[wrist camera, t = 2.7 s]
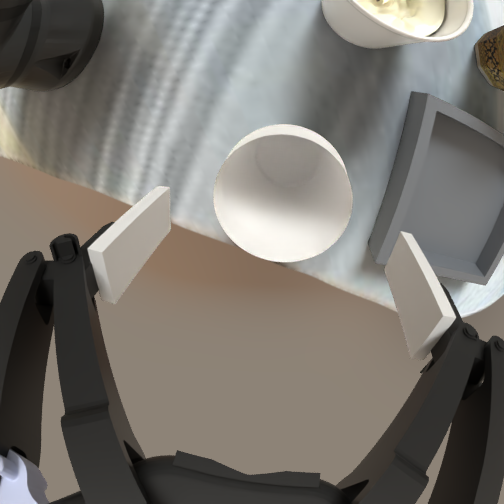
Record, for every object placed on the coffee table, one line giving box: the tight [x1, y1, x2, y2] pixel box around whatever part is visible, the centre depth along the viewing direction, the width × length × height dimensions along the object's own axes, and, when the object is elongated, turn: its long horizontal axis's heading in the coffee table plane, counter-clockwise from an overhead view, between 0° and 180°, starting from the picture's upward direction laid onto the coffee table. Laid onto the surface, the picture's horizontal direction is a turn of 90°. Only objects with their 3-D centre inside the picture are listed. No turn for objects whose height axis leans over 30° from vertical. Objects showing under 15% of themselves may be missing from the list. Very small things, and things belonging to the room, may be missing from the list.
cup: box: [213, 124, 353, 262], centre depth 22 cm, size 9×9×12 cm
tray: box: [368, 92, 504, 286], centre depth 23 cm, size 18×18×4 cm
